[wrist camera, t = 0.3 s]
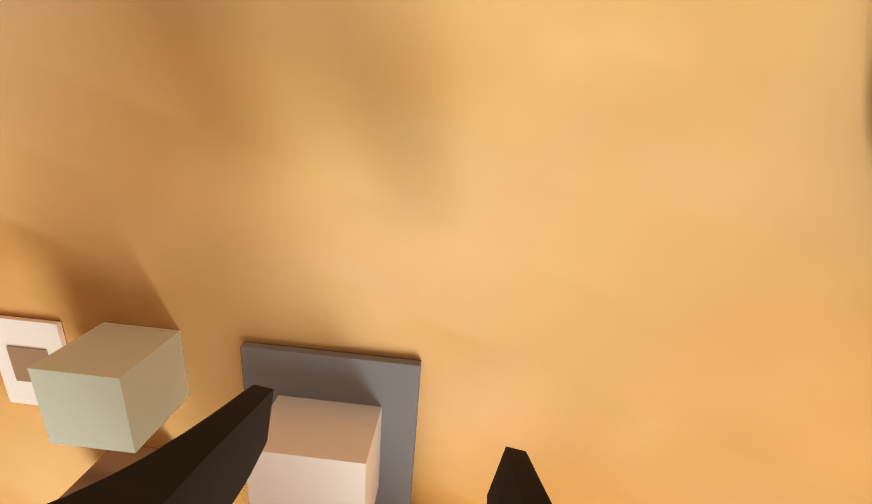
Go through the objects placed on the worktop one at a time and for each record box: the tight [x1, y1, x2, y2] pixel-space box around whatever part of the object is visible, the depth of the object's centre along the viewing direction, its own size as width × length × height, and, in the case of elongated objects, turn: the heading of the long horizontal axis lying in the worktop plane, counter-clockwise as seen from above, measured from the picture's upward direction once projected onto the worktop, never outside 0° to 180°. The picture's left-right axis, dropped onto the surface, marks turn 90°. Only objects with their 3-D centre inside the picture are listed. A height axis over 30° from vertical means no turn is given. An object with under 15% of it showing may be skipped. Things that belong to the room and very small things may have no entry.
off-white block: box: [247, 395, 382, 504], centre depth 23 cm, size 6×6×4 cm
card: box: [0, 315, 67, 405], centre depth 25 cm, size 6×4×1 cm
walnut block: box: [59, 447, 158, 499], centre depth 26 cm, size 4×4×4 cm
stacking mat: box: [240, 342, 421, 504], centre depth 26 cm, size 14×10×1 cm
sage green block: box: [27, 322, 190, 453], centre depth 23 cm, size 4×4×4 cm
